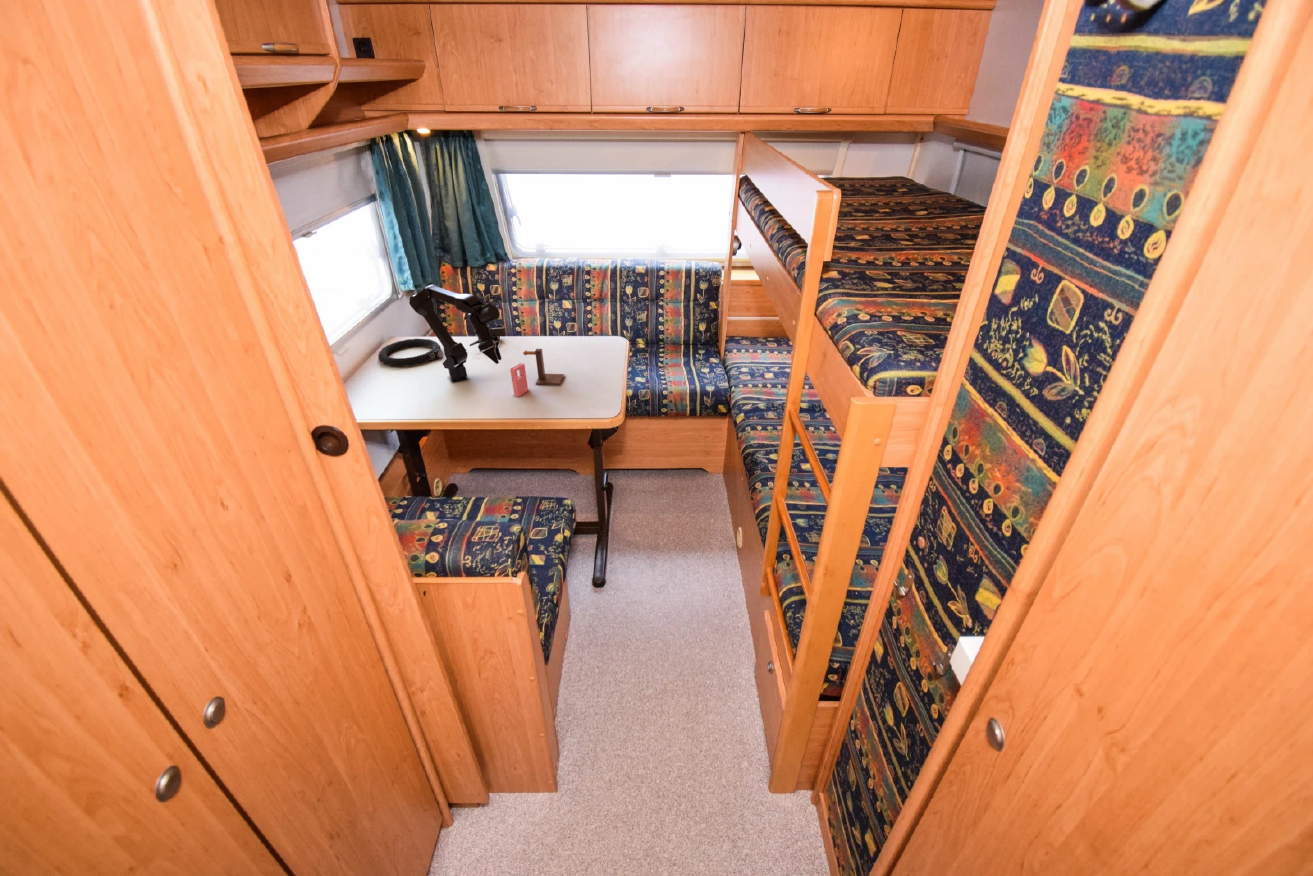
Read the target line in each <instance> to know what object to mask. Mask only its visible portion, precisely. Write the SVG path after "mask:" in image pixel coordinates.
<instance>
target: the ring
mask: <svg viewBox="0 0 1313 876" xmlns="http://www.w3.org/2000/svg"><path fill="white" fill-rule="evenodd" d="M410 347H411V348H413V347H426V348H431V349H430V350H429V351H427V352H425V353H422V354H419V355H416V356H410V357H399V358H395V357H389V356H388V355H390V354H391V353H393V352H395V351H398V350H400V349H401V350H402V349H405V348H410ZM443 355H444V351H443V350H442V349H441V346H440V343H438V342H437V341H435V340H433V339H430V338H429V339H428V338H408V339H405V340H398V341H396V342H393V343H390V344H387V345H385V346H384V347H382V348H381V350H380V351H378V354H377V356H378V360H379V361H380V363H383V364H384V365H388V366H391V367H395V366H396V367H407V366H408V367H409V366H415V365H418V364H419V365H420V364H423V363H425V362H429V361H433V360H434V359H436V360H439V359H442V358H443Z"/></svg>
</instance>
